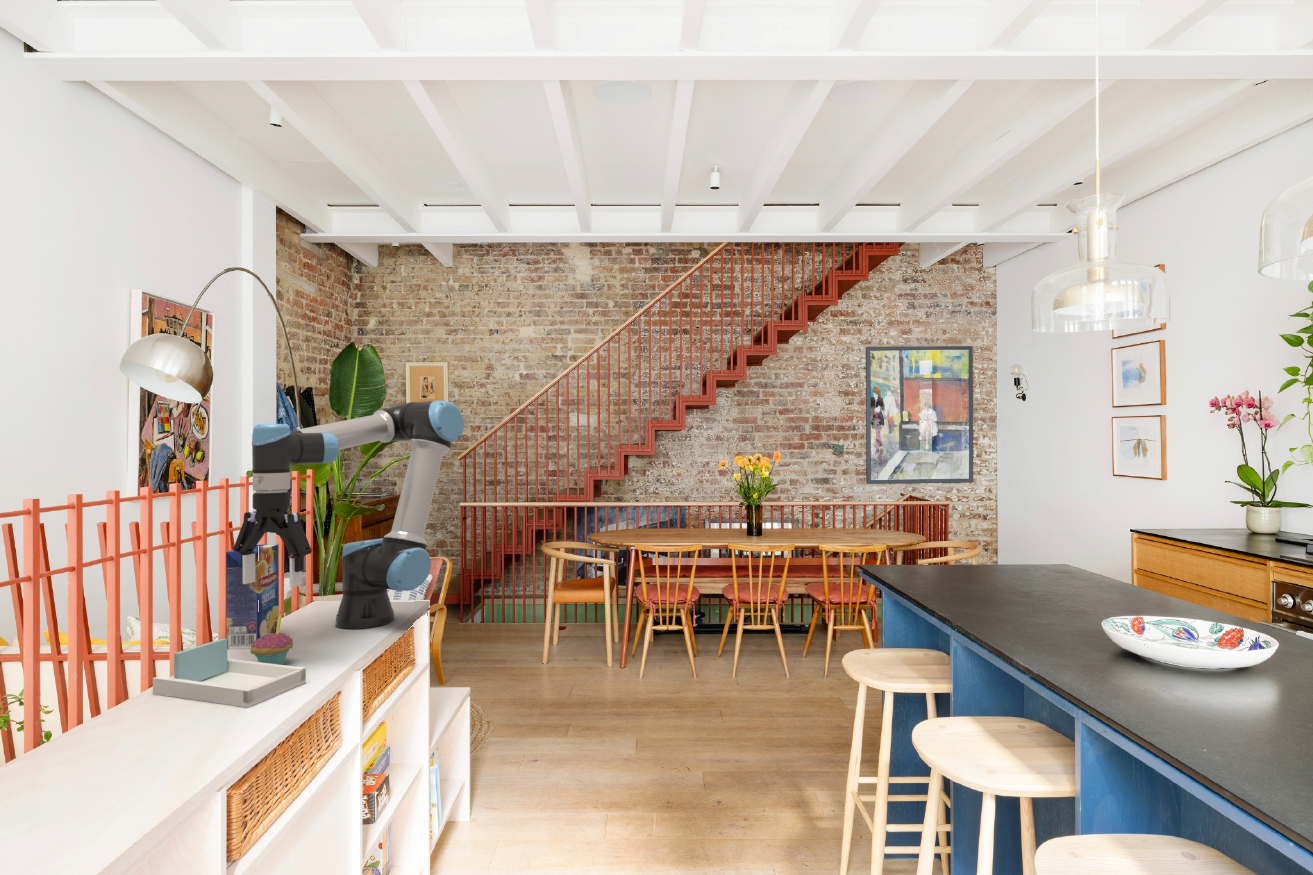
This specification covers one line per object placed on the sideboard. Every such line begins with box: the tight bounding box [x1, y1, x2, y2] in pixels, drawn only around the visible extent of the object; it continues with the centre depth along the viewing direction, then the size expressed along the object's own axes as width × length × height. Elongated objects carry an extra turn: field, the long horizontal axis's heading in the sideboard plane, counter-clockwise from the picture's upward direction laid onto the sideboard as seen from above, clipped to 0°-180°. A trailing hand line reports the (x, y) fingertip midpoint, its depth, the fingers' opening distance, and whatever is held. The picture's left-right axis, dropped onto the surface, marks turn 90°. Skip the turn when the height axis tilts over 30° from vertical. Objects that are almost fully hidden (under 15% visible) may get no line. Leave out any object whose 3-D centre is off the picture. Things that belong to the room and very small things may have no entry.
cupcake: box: [250, 611, 294, 665], centre depth 156 cm, size 9×8×12 cm
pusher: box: [173, 637, 228, 681], centre depth 145 cm, size 11×5×7 cm, turn 162°
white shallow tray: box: [152, 658, 307, 708], centre depth 142 cm, size 14×25×3 cm, turn 72°
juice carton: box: [225, 543, 280, 651], centre depth 175 cm, size 12×8×24 cm, turn 7°
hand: (272, 584), depth 156 cm, fingers open, 13 cm apart
